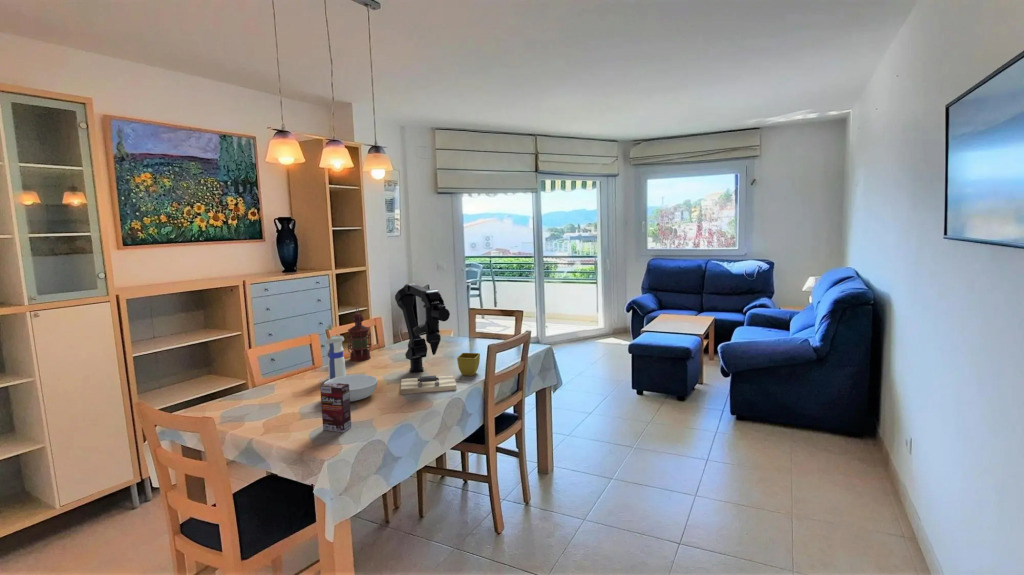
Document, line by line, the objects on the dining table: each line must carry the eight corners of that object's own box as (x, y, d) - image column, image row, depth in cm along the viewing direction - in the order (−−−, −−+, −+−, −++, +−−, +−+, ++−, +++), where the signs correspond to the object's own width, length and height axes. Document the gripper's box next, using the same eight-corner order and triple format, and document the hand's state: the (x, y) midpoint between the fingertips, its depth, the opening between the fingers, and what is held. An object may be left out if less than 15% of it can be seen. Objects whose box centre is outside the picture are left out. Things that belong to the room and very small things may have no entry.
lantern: (346, 357, 272) (342, 301, 268) (369, 354, 278) (366, 299, 274) (350, 363, 261) (346, 304, 257) (374, 359, 267) (371, 302, 263)
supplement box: (322, 430, 177) (319, 386, 175) (330, 425, 182) (327, 381, 180) (344, 432, 175) (341, 387, 173) (352, 427, 179) (349, 383, 177)
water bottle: (323, 380, 233) (319, 326, 230) (335, 375, 241) (331, 322, 238) (338, 381, 231) (335, 327, 228) (350, 376, 239) (347, 323, 236)
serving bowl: (357, 409, 196) (356, 392, 195) (313, 403, 204) (311, 387, 203) (388, 392, 216) (387, 376, 215) (347, 387, 223) (346, 372, 222)
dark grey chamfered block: (420, 384, 226) (419, 376, 225) (436, 383, 227) (435, 375, 227) (420, 386, 223) (420, 378, 222) (436, 385, 224) (436, 377, 224)
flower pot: (475, 377, 234) (475, 358, 233) (457, 376, 236) (456, 357, 234) (480, 371, 242) (480, 353, 241) (462, 371, 244) (462, 352, 243)
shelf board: (401, 383, 227) (401, 375, 226) (454, 379, 231) (453, 371, 230) (400, 394, 213) (400, 385, 213) (456, 389, 217) (456, 381, 217)
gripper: (414, 315, 238) (415, 348, 240) (413, 323, 220) (415, 358, 222) (438, 314, 240) (439, 346, 242) (440, 321, 222) (441, 357, 224)
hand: (433, 352), depth 233 cm, fingers open, 9 cm apart
